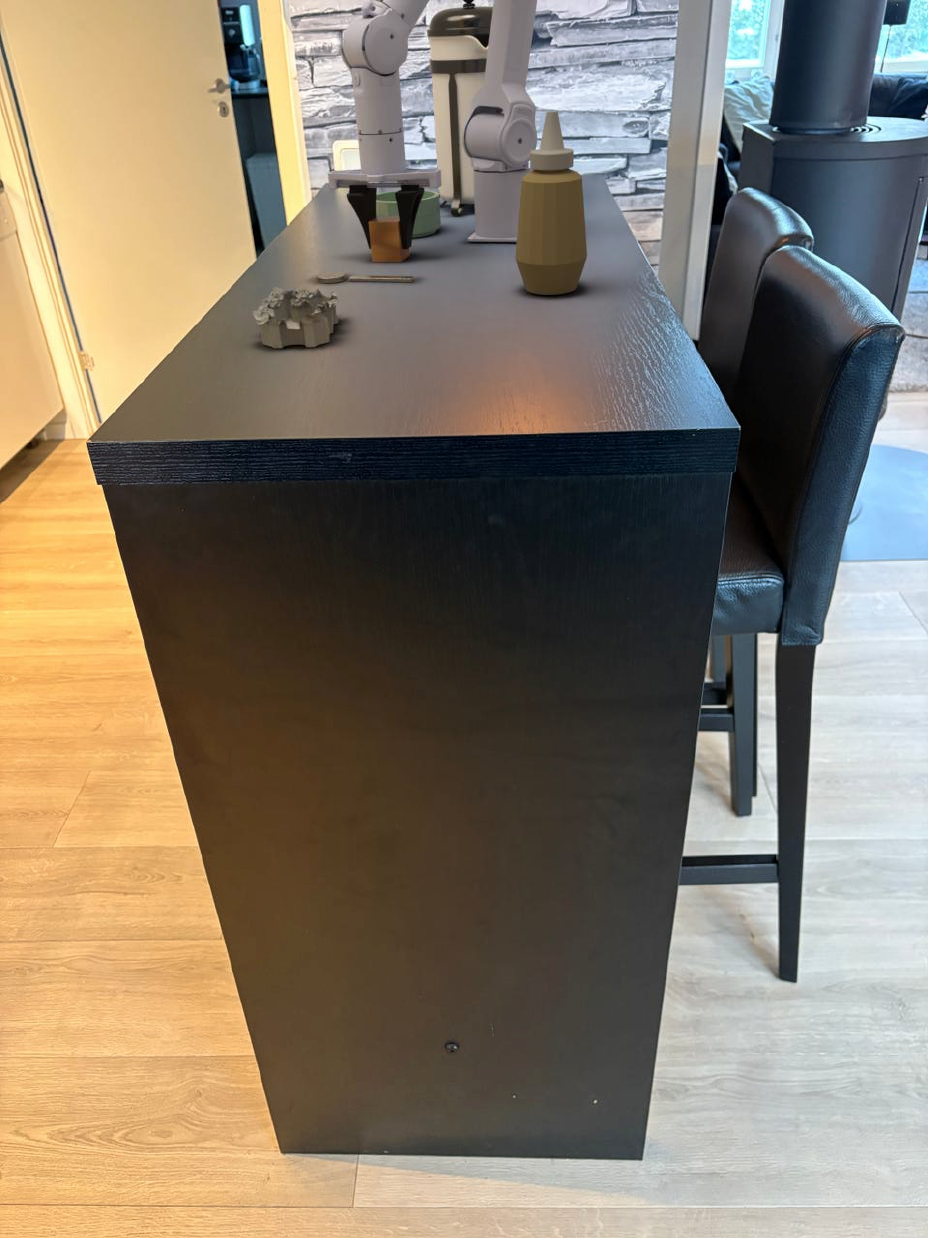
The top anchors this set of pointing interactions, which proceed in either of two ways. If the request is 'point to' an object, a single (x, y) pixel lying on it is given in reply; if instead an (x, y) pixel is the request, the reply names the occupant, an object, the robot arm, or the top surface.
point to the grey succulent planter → (296, 317)
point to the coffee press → (457, 92)
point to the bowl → (426, 213)
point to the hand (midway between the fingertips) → (390, 247)
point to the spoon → (359, 278)
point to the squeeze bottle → (551, 217)
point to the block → (386, 240)
